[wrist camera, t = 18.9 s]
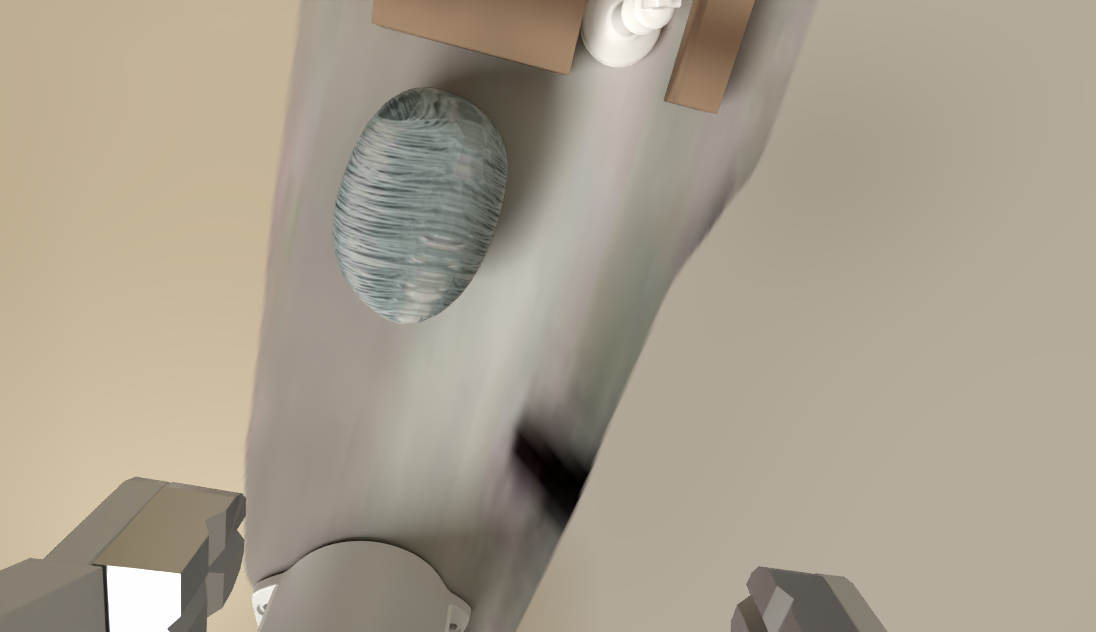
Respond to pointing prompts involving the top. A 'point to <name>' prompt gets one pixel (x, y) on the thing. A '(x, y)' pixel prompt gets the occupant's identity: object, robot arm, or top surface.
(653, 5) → the chess piece
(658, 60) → the top surface
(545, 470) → the top surface
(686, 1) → the top surface
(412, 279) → the yarn ball
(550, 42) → the notch board
